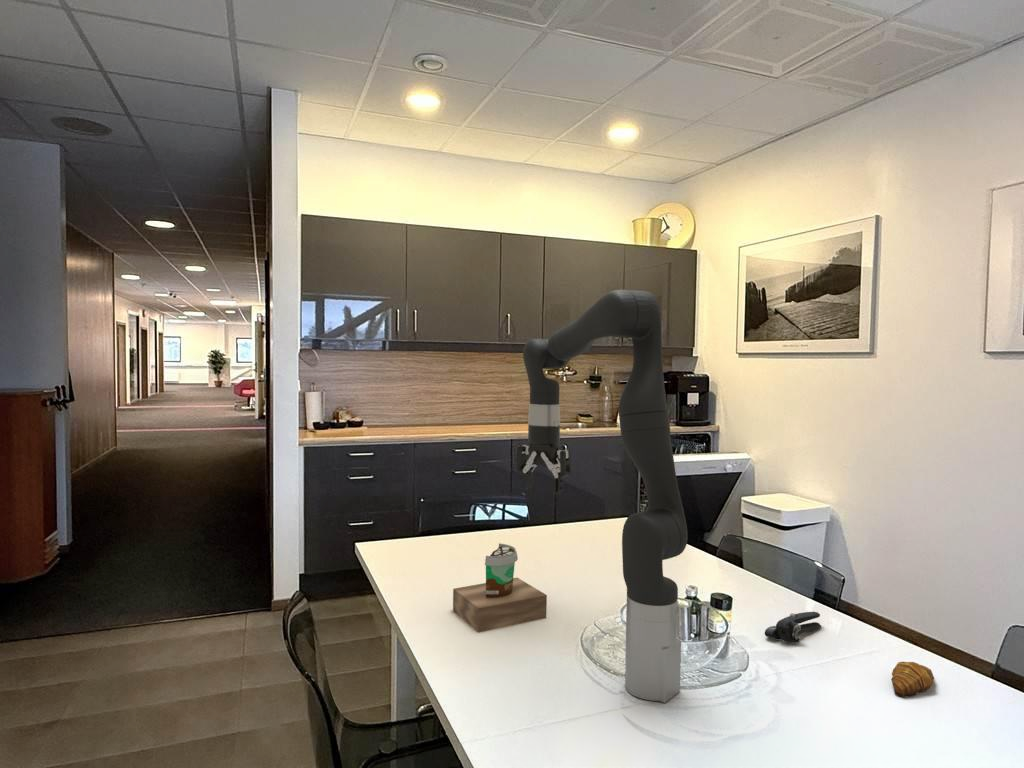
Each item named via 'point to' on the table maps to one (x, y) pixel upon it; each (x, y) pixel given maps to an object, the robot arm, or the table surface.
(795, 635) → the can opener
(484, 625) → the brown wooden block
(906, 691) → the croissant
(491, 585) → the half-round tin
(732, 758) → the table surface
